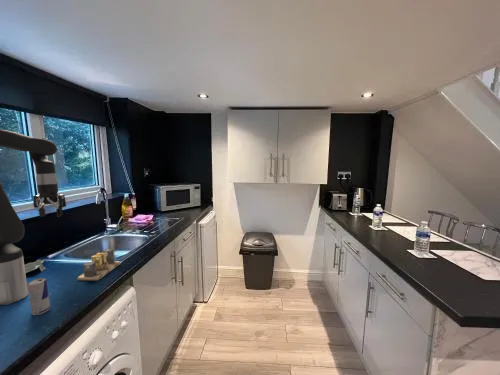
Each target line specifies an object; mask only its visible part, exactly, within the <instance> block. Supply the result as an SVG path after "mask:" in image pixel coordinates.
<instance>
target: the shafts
mask: <svg viewBox="0 0 500 375" xmlns="http://www.w3.org/2000/svg"><path fill="white" fill-rule="evenodd" d="M106 249H107V251H109V250H111V249H112V248H106ZM105 253H106V257H107V256H108V252H105ZM91 262H96V261H95V260H94V261H92V260H91ZM96 263H97V262H96ZM85 268H86V269H89V265H86V266H85Z"/></svg>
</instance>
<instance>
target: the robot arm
mask: <svg viewBox="0 0 500 375" xmlns="http://www.w3.org/2000/svg"><path fill="white" fill-rule="evenodd" d="M0 147H2V148H7V149H9V150H16V151H20V152H27V153H29V156H30V157H31V160H32V162H33V164H34V167H35V168H34V169H35V173H36V174H35V175H36V176H35V180H36V188H37V193H38V194H37V195H33V196H32V201H33V208H35V209H37V210H38V214H39V217H41V218H42V217H46V214H47V213H46V210H45V209H46V206H47V205H52V207H53V206H54V207H55V209H56V212H55V213H56V218H58V217H62V216H63V214H64V212H63V208H65V207H67V203H66V195H65V194H59V195H58V192H59V185H58V179H57V175H56V168H55V167H56V166H55V163H54V161H52V160H48V158H47V157H49V156H50V157H51V156H53V155H55V154H57V151H58V147H57V145H56V143H54V142H53V141H51V140H49V139H44V138H39V137H32V136H28V135H26V134H21V133H18V132H14V131H11V130H7V129H6V130H5V129H1V128H0ZM25 231H26V230H25V225H24V224H23V221H22V220H21V218H20V217H19V215H18V213H17V212H16V211H15V209H14V207H13V206H12V204H11V201H10V199H9V197H8V195H7V193H6V192H5V189H4V187H3V183H2V181H1V180H0V306H2V305H5V306H7V305H11V304H13V303H16V302H18V301H21V300H22V299H25V298H26V297H28V296H29V292H28V282H27V276H26V275H27V274H26V273H25V266H24V265H25V261H24V253H23V250H22V248H20V247H18V246H16V245H14V243H18V242H20V241H21V240H22V239H24V236H25V233H26V232H25Z"/></svg>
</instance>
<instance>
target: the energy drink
mask: <svg viewBox="0 0 500 375" xmlns="http://www.w3.org/2000/svg"><path fill="white" fill-rule="evenodd" d="M27 287H28V298H29V304H30V311H31V315H33V316H40V315H43V314H45V313H47V312H48V311H49V310H50V309H51V303H50V296H49V288H48V280H47V279H46V278H45V277H40V278H36V279H33V280H31V281H29V282H27Z"/></svg>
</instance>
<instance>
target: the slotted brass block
mask: <svg viewBox="0 0 500 375" xmlns="http://www.w3.org/2000/svg"><path fill="white" fill-rule="evenodd" d="M90 257H91V262H92V261H94V260H95V261H96V262H97V263H96V266H101V265H102V263H106V253H103V252H97V253H96V254H95V255H92V256H90Z"/></svg>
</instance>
